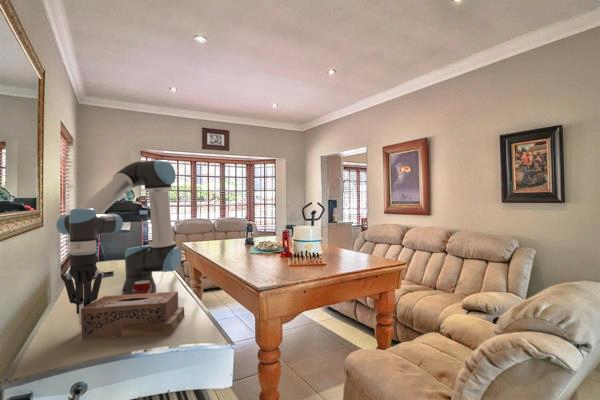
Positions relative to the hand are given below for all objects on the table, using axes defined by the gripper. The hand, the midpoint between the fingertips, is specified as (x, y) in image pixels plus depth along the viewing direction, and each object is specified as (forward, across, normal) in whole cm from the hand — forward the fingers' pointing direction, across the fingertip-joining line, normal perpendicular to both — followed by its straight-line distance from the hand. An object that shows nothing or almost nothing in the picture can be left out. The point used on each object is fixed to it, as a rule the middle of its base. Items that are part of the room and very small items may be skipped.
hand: (83, 323), depth 105 cm
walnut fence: (+3, +24, -1) cm, 24 cm away
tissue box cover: (+3, +16, -1) cm, 17 cm away
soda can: (+3, +13, +16) cm, 21 cm away
